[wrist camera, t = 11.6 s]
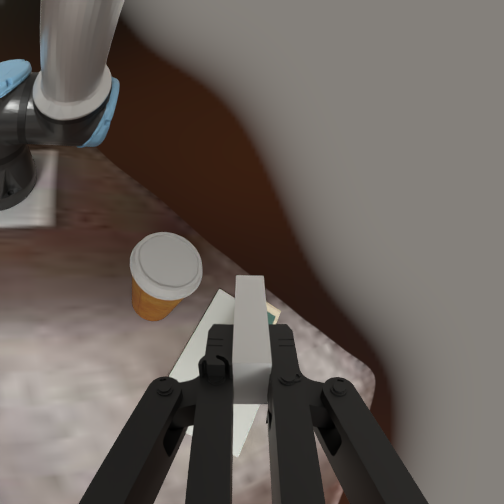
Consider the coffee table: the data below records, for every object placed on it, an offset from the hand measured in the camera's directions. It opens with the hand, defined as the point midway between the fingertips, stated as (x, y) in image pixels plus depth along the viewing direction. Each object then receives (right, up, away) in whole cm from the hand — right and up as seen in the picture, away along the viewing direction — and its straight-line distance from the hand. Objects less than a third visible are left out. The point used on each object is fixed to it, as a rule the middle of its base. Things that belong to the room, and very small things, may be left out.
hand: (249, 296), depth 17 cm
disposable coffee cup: (-15, -5, +28) cm, 32 cm away
